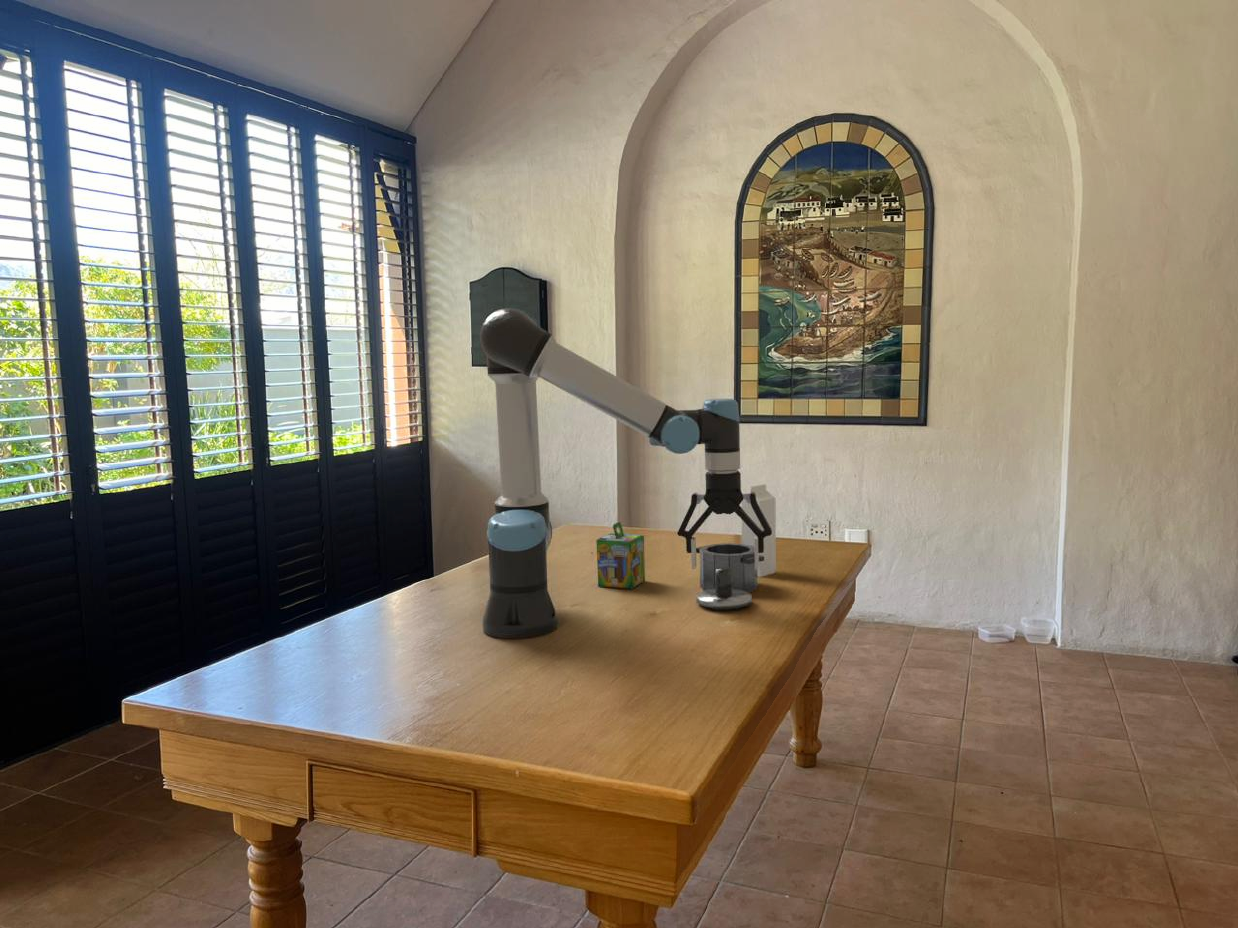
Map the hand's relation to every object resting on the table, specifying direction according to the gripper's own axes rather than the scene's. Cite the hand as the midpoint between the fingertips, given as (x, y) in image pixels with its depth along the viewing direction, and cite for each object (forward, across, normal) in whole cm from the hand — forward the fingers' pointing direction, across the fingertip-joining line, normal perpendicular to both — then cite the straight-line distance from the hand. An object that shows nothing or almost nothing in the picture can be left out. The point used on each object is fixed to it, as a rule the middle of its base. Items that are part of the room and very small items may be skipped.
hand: (725, 567), depth 204 cm
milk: (+9, -6, -30) cm, 31 cm away
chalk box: (+8, +26, -16) cm, 32 cm away
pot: (+8, 0, -16) cm, 18 cm away
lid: (+8, 0, 0) cm, 8 cm away
